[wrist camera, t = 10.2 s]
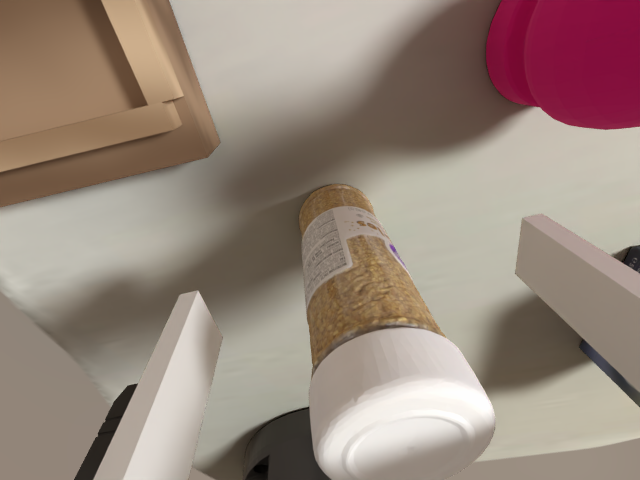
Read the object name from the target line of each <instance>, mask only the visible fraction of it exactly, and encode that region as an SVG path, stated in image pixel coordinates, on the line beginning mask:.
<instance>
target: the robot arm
mask: <svg viewBox="0 0 640 480" xmlns="http://www.w3.org/2000/svg"><path fill="white" fill-rule="evenodd" d="M515 274H516V275H517V276H518V277H519V278H520V279H521V280H522V281H523V282H524V283H525V284H526V285H527V286H529V287H530V288H531V289H532V290H533V291H534V292H535V293H536V294H537V295H538V296H539V297H540V298H541V299H542V300H543V301H544V302H545V303H546V304H547V305H548V306H550V307H551V308H552V309H553V310H554V311H555V312H556V313H557V314H558V315H559V316H560V317H561V318H562V319H563V320H564V321H565V322H566V323H567V324H568V325H569V326H571V327H572V328H573V329H574V330H575V331H576V332H577V333H578V334H579V335H580V336H581V337H582V338H583V339H584V340H585V341H586V342H587V343H588V344H589V345H590V346H592V347H593V348H594V349H595V350H596V351H597V352H598V353H599V354H600V355H601V356H602V357H603V358H604V359H605V360H606V361H607V362H608V363H609V364H610V365H611V366H613V367H614V368H615V369H616V370H617V371H618V372H619V373H620V374H621V375H622V376H623V377H624V378H625V379H626V380H627V381H628V382H629V383H630V384H631V385H632V386H634V387H635V388H636V389H637V390H638V391H639V392H640V273H638V272H636V271H635V270H633V269H632V268H630V267H628V266H627V265H625V264H623V263H622V262H620V261H618V260H617V259H615V258H614V257H612V256H610V255H609V254H607V253H605V252H604V251H602V250H601V249H599V248H597V247H596V246H594V245H592V244H591V243H589V242H587V241H586V240H584V239H583V238H581V237H579V236H578V235H576V234H574V233H573V232H571V231H570V230H568V229H566V228H565V227H563V226H561V225H560V224H558V223H556V222H555V221H553V220H552V219H550V218H548V217H547V216H545V215H543V214H537V215H533V216H528V217H524V218H522V223H521V231H520V239H519V247H518V255H517V262H516V270H515ZM222 338H223V337H222V335H221V333H220V331H219V329H218V327H217V325H216V323H215V321H214V320H213V318H212V316H211V314H210V312H209V310H208V308H207V306H206V304H205V302H204V301H203V299H202V297H201V295H200V293H199V291H198V290H197V291H193V292H188V293H184V294H180V295H179V297H178V300H177V302H176V304H175V306H174V308H173V310H172V312H171V315H170V317H169V319H168V321H167V323H166V325H165V327H164V330H163V332H162V334H161V336H160V338H159V340H158V342H157V344H156V347H155V349H154V351H153V353H152V355H151V357H150V359H149V362H148V364H147V366H146V368H145V370H144V372H143V374H142V377H141V379H140V381H139V383H138V384H133V385H129V386H127V387H126V388H125V390H124V391H123V392H122V393H121V394H120V395H119V397H118V398H117V399H116V400H115V401H114V403H113V405H112V407H111V409H110V411H109V413H108V415H107V417H106V419H105V420H106V421H105V422H104V423H103V424H102V426H101V429H100V430H99V432H98V437H96V438H95V440H94V442H93V444H92V446H91V448H90V450H89V452H88V454H87V456H86V457H85V460H84V461H83V463H82V465H81V467H80V469H79V471H78V473H77V475H76V477H75V479H74V480H188V479H189V475H190V471H191V467H192V463H193V459H194V454H195V450H196V446H197V442H198V438H199V434H200V430H201V425H202V421H203V417H204V413H205V409H206V405H207V401H208V396H209V392H210V388H211V384H212V380H213V376H214V372H215V367H216V363H217V359H218V355H219V351H220V347H221V343H222ZM243 480H332V479H330V478H329V477H328V476H327V475H326V474H325V473H324V472H323V471H322V470H321V468H320V467H319V465H318V463H317V461H316V459H315V455H314V450H313V442H312V433H311V422H310V409H305V410H301V411H297V412H294V413H291V414H288V415H286V416H283V417H281V418H279V419H276V420H275V421H273V422H271V423H269V424H268V425H266V426H265V427H263V428H262V429H261V430H260V431H258V432H257V433H256V434H255V435H254V437H253V438H252V439H251V441H250V442H249V444H248V446H247V448H246V452H245V460H244V470H243Z"/></svg>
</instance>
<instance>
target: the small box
mask: <svg viewBox="0 0 640 480" xmlns="http://www.w3.org/2000/svg"><path fill="white" fill-rule="evenodd" d="M623 264H625V265H627V266H628V267H630V268H632V269H633V270H635V271H636V272H638V273H640V246H635V247H632V248H631V249H630V251H629V253H628V255H627V257H626V259H625V261H624V263H623ZM579 348H580V349H581V350H582V351H583V352H584V353H585V354H586V355H587V356H588V357H589V358H590V359H591V360H592V361H593V362H594V363H595V364H596V365H597V366H598V367H599V368H600V369H601V370H602V371H604V372H605V374H607V375H608V376H609V377H610V378H611V379H612V380H613V381H614V382H615V383H616V384H617V385H618V386H619V387H620V388H621V389H622V390H623V391H624V392H625V393H626V394H627V395H628V396H629V397H630V398H631V399H632V400H633V401H634V402H635V403H636V404H637V405H638V406H639V407H640V392H639V391H638V390H637V389H636V388H635V387H634V386H632V385H631V384H630V383H629V382H628V381H627V380H626V379H625V378H624V377H623V376H622V375H621V374H620V373H619V372H618V371H617V370H616V369H615V368H614V367H613V366H611V365H610V364H609V363H608V362H607V361H606V360H605V359H604V358H603V357H602V356H601V355H600V354H599V353H598V352H597V351H596V350H595V349H594V348H593V347H592V346H590V345H589V344H588V343H587V342H586V341H585V340H584V339H583V341H582V343H581V345H580V347H579Z"/></svg>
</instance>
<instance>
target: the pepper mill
mask: <svg viewBox="0 0 640 480" xmlns="http://www.w3.org/2000/svg"><path fill="white" fill-rule="evenodd" d="M486 63H487V68H488V72H489V76H490V79H491V81H492V83H493V85H494V86H495V88H496V89H497V90H498V91H499V93H500V94H501V95H502V96H504V97H505V98H506V99H508V100H510V101H512V102H515V103H518V104H523V105H529V106H536V107H541V109H542V110H543V111H544V112H546V113H547V114H548V115H549V116H551V117H552V118H553V119H555V120H558V121H560V122H563V123H565V124H567V125H571V126H577V127H584V128H594V129H604V130H608V129H622V128H631V127H640V0H502V1H501V3H500V5H499V7H498V9H497V11H496V13H495V16H494V18H493V20H492V23H491V26H490V30H489V34H488V38H487V43H486Z"/></svg>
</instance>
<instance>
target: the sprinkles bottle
mask: <svg viewBox="0 0 640 480" xmlns="http://www.w3.org/2000/svg"><path fill="white" fill-rule="evenodd" d="M299 227H300V231H301V234H302V261H303V274H304V288H305V300H306V314H307V322H308V325H309V332H310V345H311V353H312V364H313V368H312V377H311V383H310V387H309V408H310V422H311V433H312V442H313V450H314V455H315V459H316V461H317V463H318V465H319V467H320V468H321V470H322V471H323V472H324V473H325V474H326V475H327V476H328V477H329V478H330V479H332V480H444V479H447V478H449V477H451V476H453V475H455V474H457V473H459V472H460V471H461V470H463V469H465V468H466V467H468V466H469V465H470V464H471V463H473V462H474V461H475V460H476V459H477V458H478V457H479V456H480V455H481V454H482V453H483V452H484V450H485V449H486V448H487V446H488V445H489V443H490V441H491V439H492V437H493V434H494V430H495V414H494V410H493V407H492V404H491V402H490V400H489V398H488V397H487V395H486V393H485V391H484V389H483V387H482V386H481V384H480V382H479V380H478V379H477V377H476V375H475V373H474V372H473V370H472V369H471V367H470V365H469V364H468V362H467V361H466V359H465V357H464V356H463V354H462V353H461V351H460V350H459V349H458V347H457V346H456V345H454V344H453V343H452V342H451V341H449V340H448V339H447V338H446V336H445V335H444V334H443V333H442V332H441V330H440V328H439V327H438V325H437V324H436V322H435V320H434V319H433V317H432V316H431V314H430V312H429V310H428V308H427V306H426V305H425V303H424V301H423V299H422V297H421V296H420V294H419V292H418V291H417V289H416V287H415V285H414V283H413V280H412V277H411V275H410V274H409V272H408V270H407V268H406V267H405V265H404V263H403V262H402V260H401V258H400V256H399V255H398V253H397V251H396V249H395V248H394V246H393V244H392V242H391V240H390V239H389V237H388V235H387V233H386V231H385V230H384V228H383V226H382V224H381V223H380V222H379V220H378V219H377V218H376V216H375V215H374V212H373V208H372V205H371V203H370V202H369V200H368V198H367V197H366V196H365V195H364V194H363V193H362V192H361V191H359V190H358V189H356V188H353V187H351V186H348V185H344V184H333V185H330V186H325V187H323V188H320V189H318V190H316V191H314V192H313V193H312V194H311V195H310V196H309V197H308V198H307V199H306V200H305V202H304V204H303V205H302V207H301V210H300V213H299Z"/></svg>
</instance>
